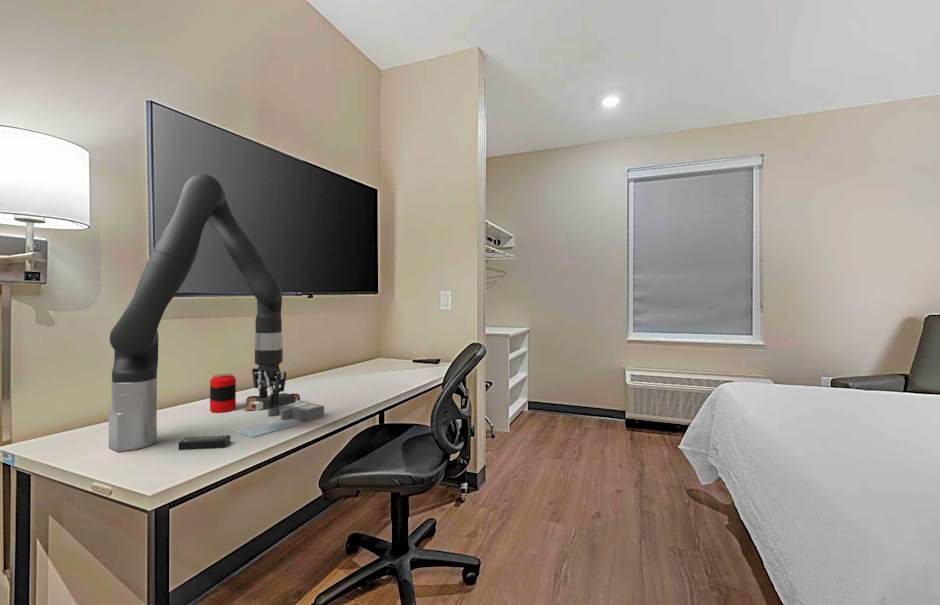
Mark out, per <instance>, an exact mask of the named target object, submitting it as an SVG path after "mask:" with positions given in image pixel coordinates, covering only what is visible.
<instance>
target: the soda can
mask: <svg viewBox="0 0 940 605" xmlns="http://www.w3.org/2000/svg"><path fill="white" fill-rule="evenodd" d="M236 379H237V378H236V377H235V376H234V375H233V373H219V374H213V376H212V378H210V380H209V382H210V383H209V411H210V412H211V413H214V414H222V413H228V412H231V411H232V412H233V411H235V409H236V408H237V407H236V405H237V403H236V400H237V399H236V398H237V395H236V394H237V390H236V389H237V388H236V384H237V380H236Z"/></svg>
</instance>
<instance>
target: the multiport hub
mask: <svg viewBox="0 0 940 605" xmlns="http://www.w3.org/2000/svg"><path fill="white" fill-rule="evenodd" d="M229 444H231V435H228V434H227V435H226V434H225V435H205V436H203V435H201V436H187V437H184V438H183V439H181V440H180V441H178V447H177V448H178V451H188V450H189V451H191V450H210V449H211V450H212V449H214V450H215V449H226V447H227V446H228V445H229Z"/></svg>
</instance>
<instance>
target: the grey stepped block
mask: <svg viewBox="0 0 940 605" xmlns="http://www.w3.org/2000/svg"><path fill="white" fill-rule="evenodd" d="M277 415H279V416H280V421H281V420H285V421H286V420H288V419H293V420H297V421H302V422H305V423H307V422H309V421H313V420H317V419H320V417H321V418H323V416H324V417H325V406H324V405H321V404H316V403H313V402H309V401H304V400H301V399H300V400H296V402H295V403H292V404H288V405H283V406H279V407H275V408H271V409H268V410H267V416H268V417H273V416H277Z"/></svg>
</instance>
